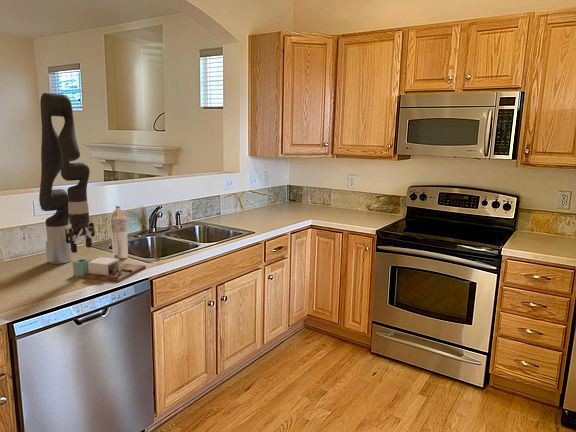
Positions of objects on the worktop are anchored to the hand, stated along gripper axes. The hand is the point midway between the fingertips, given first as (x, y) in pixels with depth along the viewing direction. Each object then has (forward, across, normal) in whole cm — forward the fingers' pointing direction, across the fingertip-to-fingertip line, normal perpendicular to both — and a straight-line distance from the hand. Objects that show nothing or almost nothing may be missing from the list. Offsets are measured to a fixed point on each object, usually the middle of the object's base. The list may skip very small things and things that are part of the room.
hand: (81, 249), depth 183 cm
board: (+11, -6, +11) cm, 17 cm away
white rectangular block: (+9, -1, +9) cm, 13 cm away
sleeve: (+11, 0, 0) cm, 11 cm away
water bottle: (+11, -26, -1) cm, 28 cm away
